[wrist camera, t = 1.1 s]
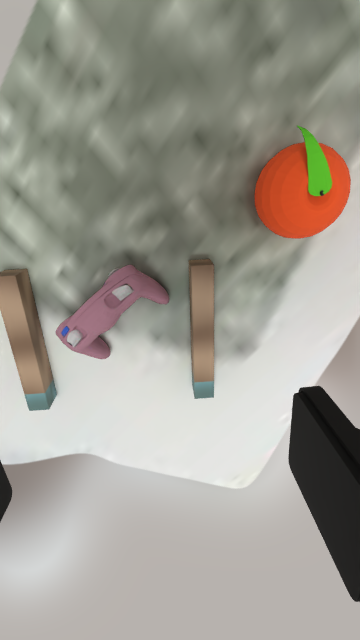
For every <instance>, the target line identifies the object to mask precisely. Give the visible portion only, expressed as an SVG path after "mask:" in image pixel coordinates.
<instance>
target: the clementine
mask: <svg viewBox="0 0 360 640" xmlns="http://www.w3.org/2000/svg"><path fill="white" fill-rule="evenodd" d="M297 127H298V128H299V129H300V130H301V131H302V134H303V137H304V140H305V142H304V143H298V144H293V145H291V146H289V147H287V148H285V149H283V150H281V151H280V152H279V153H278V154H277V155H275V156H274V157H273V158H272V159H271V160H270V161H268V163H267V164H266V166H265V167H264V168H263V170H262V171H261V173H260V176H259V178H258V180H257V183H256V189H255V207H256V210H257V213H258V216H259V218H260V219H261V220H262V222H263V223H264V225H265V226H266V227H268V228H269V229H270V230H271V231H273V232H274V233H275V234H277V235H280V236H282V237H286V238H304V237H310V236H313V235H315V234H317V233H319V232H321V231H323V230H324V229H325V228H327V227H328V226H329V225H331V224H332V223H333V222H334V221H335V220H336V219H337V218H338V216H339V215H340V214H341V213H342V211H343V209H344V207H345V205H346V203H347V200H348V197H349V193H350V181H351V179H350V174H349V170H348V167H347V165H346V163H345V161H344V160H343V158H342V157H341V156H340V155H339V154H338V153H337V152H336V151H335V150H334V149H333V148H331V147H328V146H326V145H324V144H322V143H318V142H317V141H316V139H315V138H314V136H313V135H312V134H311V133H310V132H309V131H308V130H307V129H305V128H302V127H300V126H297Z"/></svg>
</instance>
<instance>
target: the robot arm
mask: <svg viewBox="0 0 360 640" xmlns="http://www.w3.org/2000/svg"><path fill="white" fill-rule="evenodd" d="M289 465H290V468H291V471H292V473H293V475H294V478H295V480H296V481H297V484H298V486H299V488H300V490H301V492H302V495H303V497H304V499H305V501H306V503H307V505H308V507H309V509H310V512H311V514H312V516H313V518H314V520H315V522H316V524H317V526H318V529H319V530H320V533H321V535H322V537H323V539H324V541H325V543H326V546H327V548H328V550H329V552H330V554H331V556H332V558H333V560H334V563H335V565H336V567H337V569H338V571H339V573H340V575H341V577H342V580H343V582H344V584H345V586H346V588H347V590H348V592H349V594H350V596H351V597H352V599H353V600H354V601H356V602H358V601H360V429H358V428H355V427H354V425H353V424H352V423H351V422H350V421H349V420H348V418H347V417H346V416H345V415H344V414H343V412H342V411H341V410H340V409H339V407H338V406H337V405H336V404H335V403H334V402H333V400H332V399H331V398H330V397H329V395H328V394H327V393H326V392H325V390H324V389H323V388H321V387H320V386H313V387H303V388H300V389H299V393H295V394H294V396H293V408H292V420H291V433H290V445H289ZM11 497H12V488H11V485H10V483H9V480H8V478H7V476H6V473H5V471H4V468H3V466H2V464H1V461H0V521H1V519H2V517H3V515H4V513H5V511H6V509H7V507H8V505H9V503H10V501H11Z"/></svg>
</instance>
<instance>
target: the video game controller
mask: <svg viewBox="0 0 360 640" xmlns="http://www.w3.org/2000/svg"><path fill="white" fill-rule="evenodd" d="M108 277H109V278H108V279H107V280H106V281H105V283H104V285H103V287H102V288H101V289H100V290H99V291H97V292H96V293H95V294H94V295H93V296H92V297H90V298H89V299H88V300H87V301H86V302H85V303H84V304H83V305H82V306H81V307H80V308H79V309H78V310H77V311H76V312H75V313H74V315H72V316H71V317H69V318H68V319H66V320H65V321H64V322H62V323H61V324H60V325H59V327H58V328H57V330H56V335H57V336H58V337H59V338H60V340H61V341H62V342H63V343H64V344H65V345H66V346H67V347H68V348H70V349H71V350H73V351H75V352H78V353H81V354H85V355H88V356H91V357H94V358H98V359H106V358H108V357H109V356H110V349H109V347H108V346H107V344H106V343H105V342H104V341H103V340H102V339H101V338H99V337H98V336H99V335H100V334H102V333H104V332H106V331H108V330H109V329H110V328H112V327H113V326H114V325H115V323H116V322H117V320H118V319H119V317H120V316H121V314H122V313H123V312H124V311H125V310H126V309H128V308H129V307H130V306H131V305H132V304H133V303H134V302H135V301H136V300H137V299H138V298H140V297H144V298H148V299H150V300H152V301H155V302H157V303H159V304H167V303H168V302H169V296H168V294H167V292H166V290H165V289H164V288H163V287H162V286H161V285H160V284H159V283H158V282H157V281H155V280H154V279H152V278H151V277H149V276H147V275H145V274H144V273H142V272H140V271H138V270H137V269H136V268H135V267H134V266H133V265H127V266H124V267H122V268H121V269H119V268H117V269H114V270H112V271H111V272H110V274H109V276H108Z"/></svg>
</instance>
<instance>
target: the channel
mask: <svg viewBox="0 0 360 640" xmlns="http://www.w3.org/2000/svg"><path fill="white" fill-rule="evenodd" d="M189 290H190V322H191V355H192V385H193V391H194V397H195V399H198V398H211V397H214V264H213V263H212V262H211V260H210V259H202V260H189ZM0 310H1V313H2V317H3V320H4V324H5V327H6V331H7V334H8V338H9V341H10V345H11V348H12V352H13V355H14V359H15V362H16V366H17V369H18V373H19V376H20V380H21V384H22V387H23V391H24V394H25V398H26V401H27V405H28V408H29V411H33V410H46V409H50V407H51V405H52V403H53V401H54V399H55V397H56V395H57V393H56V389H55V385H54V381H53V377H52V372H51V368H50V364H49V360H48V355H47V351H46V347H45V343H44V338H43V334H42V330H41V326H40V322H39V317H38V313H37V309H36V305H35V300H34V296H33V292H32V288H31V284H30V279H29V275H28V271H27V269H17V270H4V271H2V272H0Z"/></svg>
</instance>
